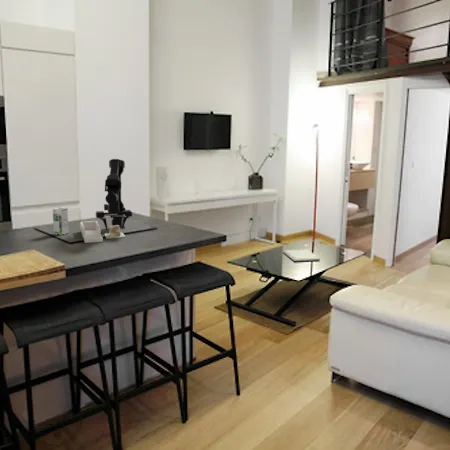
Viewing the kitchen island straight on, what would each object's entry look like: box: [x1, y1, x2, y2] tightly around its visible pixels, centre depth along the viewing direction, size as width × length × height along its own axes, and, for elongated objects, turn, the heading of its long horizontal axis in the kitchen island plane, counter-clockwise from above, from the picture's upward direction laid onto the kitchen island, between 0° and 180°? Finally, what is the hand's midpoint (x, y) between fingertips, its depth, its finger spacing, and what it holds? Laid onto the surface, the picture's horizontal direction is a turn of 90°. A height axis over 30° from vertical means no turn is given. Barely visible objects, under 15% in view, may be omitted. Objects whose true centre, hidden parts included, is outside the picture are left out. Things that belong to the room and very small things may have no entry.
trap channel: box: [80, 220, 104, 244], centre depth 251 cm, size 9×27×6 cm, turn 21°
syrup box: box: [52, 206, 69, 236], centre depth 254 cm, size 6×6×14 cm
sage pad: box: [103, 231, 126, 240], centre depth 254 cm, size 10×10×1 cm
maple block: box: [108, 224, 121, 237], centre depth 252 cm, size 5×5×5 cm
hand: (114, 229), depth 253 cm, fingers open, 8 cm apart
